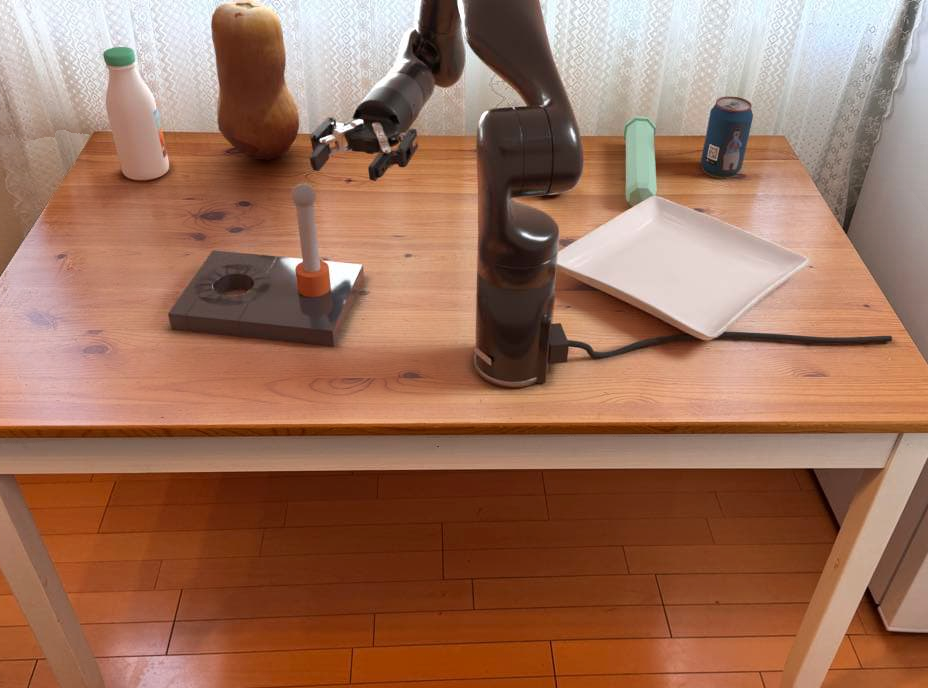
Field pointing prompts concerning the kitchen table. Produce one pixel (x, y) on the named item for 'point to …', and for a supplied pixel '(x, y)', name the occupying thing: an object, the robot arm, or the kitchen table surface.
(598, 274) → the square plate
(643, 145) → the container
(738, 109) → the soda can
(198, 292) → the dark grey slab
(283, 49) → the butternut squash
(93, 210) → the kitchen table surface
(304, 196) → the stopper
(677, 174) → the kitchen table surface
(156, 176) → the milk bottle
